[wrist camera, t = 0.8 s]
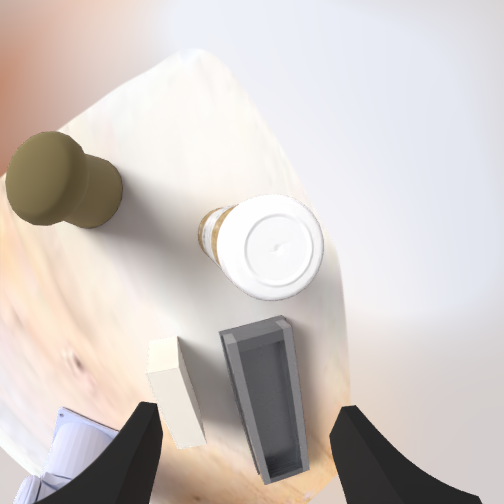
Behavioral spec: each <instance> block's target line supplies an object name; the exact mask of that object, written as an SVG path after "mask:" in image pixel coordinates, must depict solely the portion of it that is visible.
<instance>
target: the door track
mask: <svg viewBox="0 0 504 504" xmlns="http://www.w3.org/2000/svg"><path fill="white" fill-rule="evenodd" d="M219 335H220V339H221V343H222V348H223V352H224V356H225V360H226V364H227V368H228V372H229V375H230V379H231V383H232V387H233V391H234V395H235V398H236V402H237V406H238V409H239V413H240V416H241V420H242V424H243V427H244V431H245V434H246V438H247V441H248V444H249V448H250V451H251V454H252V458H253V461H254V464H255V467H256V470H257V473H258V475H259V474H260V476H261V478H262V480H263V482H264V485H267V484H270V483H273V482H276V481H279V480H282V479H285V478H288V477H291V476H294V475H297V474H299V473H302V472H305V471H307V470H310V469H309V460H308V450H307V441H306V433H305V424H304V416H303V407H302V399H301V391H300V384H299V376H298V368H297V361H296V353H295V346H294V339H293V332H292V326H291V325H289V324H288V323H287V322H286V319H285V318H284V317H283V316H282V315H281V316H277V317H273V318H270V319H266V320H262V321H259V322H255V323H251V324H247V325H244V326H240V327H236V328H232V329H228V330H224V331H220V332H219Z"/></svg>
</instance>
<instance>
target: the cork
mask: <svg viewBox="0 0 504 504" xmlns="http://www.w3.org/2000/svg"><path fill="white" fill-rule="evenodd" d="M5 183H6V192H7V198H8V200H9V203H10V205H11V207H12V209H13V210H14V212H15V213H16V214H17V215H18V216H19V217H20V218H21V219H23V220H25V221H27V222H29V223H31V224H33V225H42V226H48V225H52V224H55V223H58V222H61V221H66V222H68V223H71V224H73V225H76V226H79V227H82V228H93V227H97V226H100V225H102V224H104V223H105V222H106V221H108V220H109V219H111V217H112V216H113V215H114V213H115V212H116V211H117V209H118V207H119V204H120V202H121V199H122V190H123V187H122V182H121V177H120V175H119V173H118V171H117V170H116V168H115V167H114V166H113V165H112V164H111V163H110V162H109V161H107V160H104V159H101V158H99V157H95V156H92V155H88V154H84V152H83V150H82V148H81V146H80V145H79V144H78V143H77V142H75V141H74V140H73V139H72V138H71V137H70V136H68V135H66V134H63V133H60V132H41V133H39V134H37V135H34V136H32V137H30V138H29V139H28V140H27V141H25V142H24V143H23V144H22V145H21V146H20V147H19V148H18V149H17V151H16V152H15V154H14V155H13V156H12V159H11V161H10V163H9V166H8V169H7V174H6V181H5Z"/></svg>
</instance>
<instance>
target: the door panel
mask: <svg viewBox="0 0 504 504" xmlns="http://www.w3.org/2000/svg"><path fill="white" fill-rule="evenodd" d="M145 374H146V376H147V379H148V382H149V384H150V387H151V389H152V392H153V394H154V397H155V399H156V402H157V404H158V406H159V409H160V411H161V413H162V416H163V418H164V420H165V422H166V425H167V427H168V429H169V431H170V433H171V436H172V438H173V440H174V442H175V444H176V446H177V448H178V449H184V448H189V447H194V446H199V445H204V444H207V442H206V438H205V433H204V428H203V424H202V419H201V414H200V409H199V405H198V402H197V399H196V396H195V393H194V390H193V387H192V384H191V381H190V378H189V375H188V372H187V369H186V365H185V362H184V359H183V356H182V352H181V349H180V346H179V342H178V339H177V336H174V337H170V338H165V339H160V340H155V341H150V345H149V352H148V359H147V366H146V373H145Z"/></svg>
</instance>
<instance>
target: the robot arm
mask: <svg viewBox="0 0 504 504" xmlns="http://www.w3.org/2000/svg"><path fill="white" fill-rule="evenodd" d="M61 414H63V415H64V416H63V415H61ZM329 437H330V443H331V449H332V455H333V459H334V462H335V465H336V468H337V472H338V475H339V478H340V481H341V484H342V487H343V491H344V494H345V497H346V501H347V504H482V502H481V500H480V498H479V497H478V496H476V495H472V494H470V493H466V492H464V491H461V490H458V489H456V488H454V487H451V486H449V485H447V484H445V483H443V482H441V481H439V480H438V479H436V478H434V477H432V476H431V475H429V474H427V473H426V472H424V471H423V470H421V469H420V468H419V467H417V466H416V465H415V464H413V463H412V462H411V461H409V460H408V459H407V458H406V457H404V456H403V455H402V454H401V453H400V452H399V451H398V450H397V449H396V448H395V447H393V445H392V444H391V443H390V442H389V441H387V439H386V438H385V437H384V436H383V435H382V434H381V433H380V432H379V431H378V430H377V429H376V428H375V427H374V425H372V423H371V422H370V421H369V420H368V419H367V418H366V416H365V415H364V414H363V413H362V412H361V411H360V410H359V408H358V407H357V406H356V405H354V406H345V407H342V408H341V410H340V413H339V415H338V417H337V420H336V422H335V424H334V426H333V429H332V431H331V433H330V435H329ZM162 438H163V431H162V426H161V421H160V417H159V412H158V407H157V404H156V403H149V402H140V403H139V404H138V406H137V408H136V409H135V411H134V412H133V414H132V415H131V417H130V418H129V419H128V421H127V422H126V424H125V425H124V426H123V428H122V429H121V430H120V432H118V431H115V430H113V429H110V428H108V427H105V426H103V425H101V424H98V423H96V422H94V421H91V420H89V419H87V418H85V417H82V416H80V415H78V414H76V413H74V412H72V411H70V410H68V409H66V408H64V407H60V408H59V410H58V415H57V420H56V425H55V431H54V436H53V442H52V447H51V450H50V452H49V455H48V457H47V460H46V463H45V465H44V468H43V471H42V474H41V476H40V478H38V477H37V476H36V475H32V476H27V477H26V478H25V479H24V481H23V483H22V485H21V487H20V489H19V491H18V493H17V495H16V498H15V500H14V503H13V504H149V501H150V496H151V491H152V487H153V483H154V479H155V475H156V471H157V467H158V463H159V459H160V454H161V447H162Z"/></svg>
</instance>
